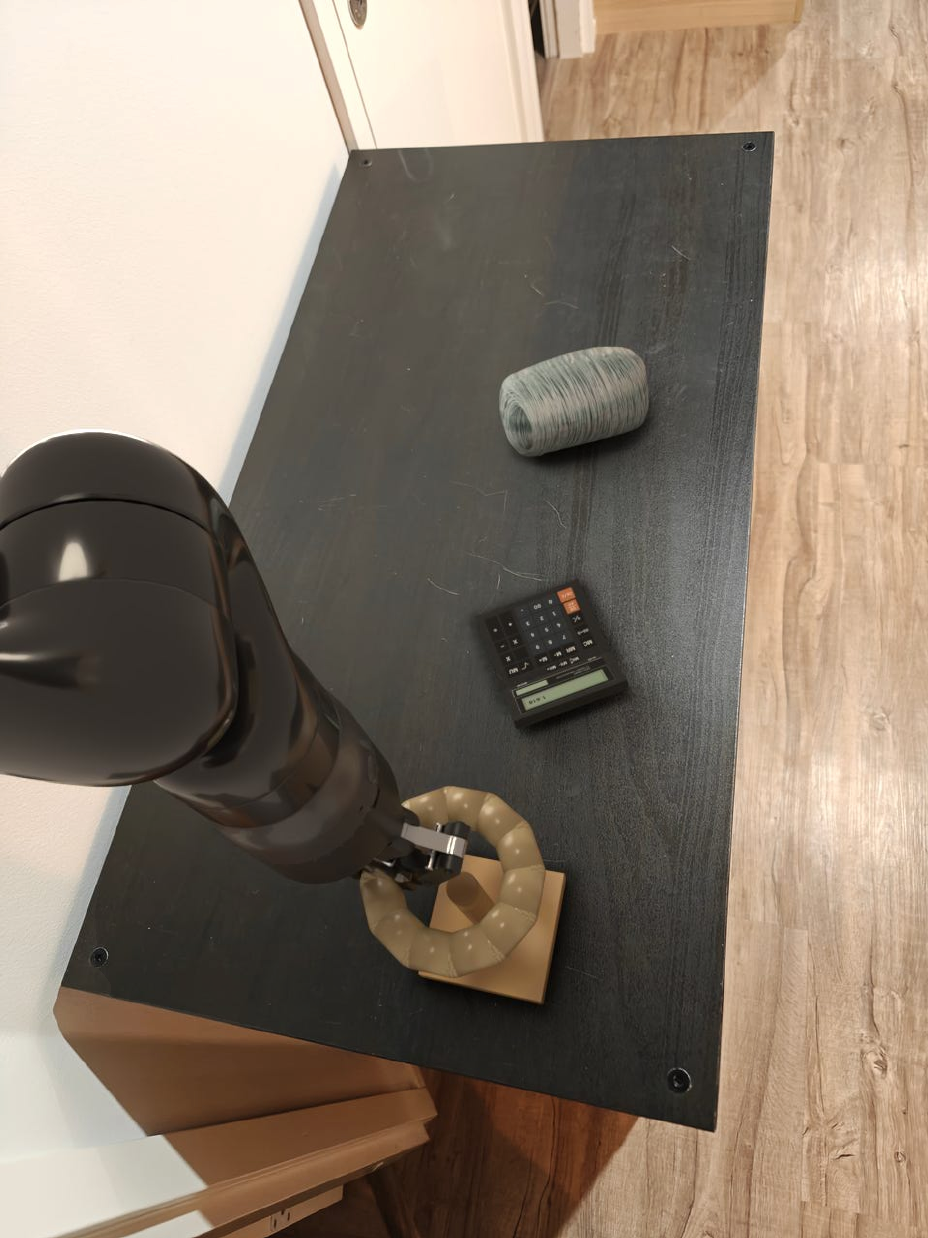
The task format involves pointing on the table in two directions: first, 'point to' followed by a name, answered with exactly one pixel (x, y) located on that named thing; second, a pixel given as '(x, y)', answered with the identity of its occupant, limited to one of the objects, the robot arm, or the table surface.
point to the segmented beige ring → (500, 924)
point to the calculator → (550, 654)
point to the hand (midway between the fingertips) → (390, 868)
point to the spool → (574, 400)
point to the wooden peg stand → (470, 903)
